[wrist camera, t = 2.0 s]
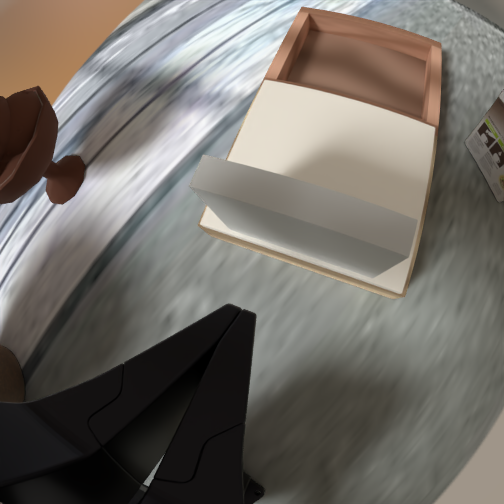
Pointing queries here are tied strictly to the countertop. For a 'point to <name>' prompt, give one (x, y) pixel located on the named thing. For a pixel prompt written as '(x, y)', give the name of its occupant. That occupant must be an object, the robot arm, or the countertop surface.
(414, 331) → the countertop surface
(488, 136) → the coffee box
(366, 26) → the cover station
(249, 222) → the white l-shaped piece
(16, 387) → the plant pot
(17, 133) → the ice cream bowl
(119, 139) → the countertop surface
